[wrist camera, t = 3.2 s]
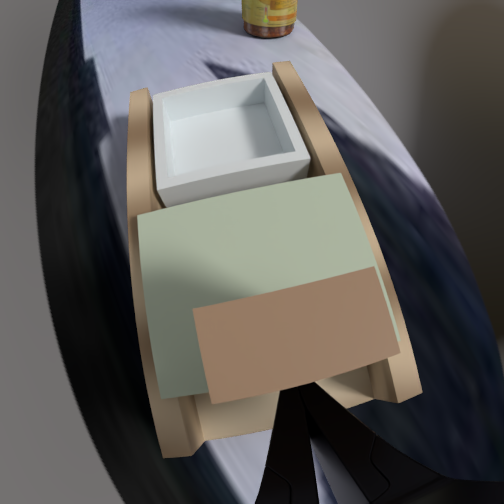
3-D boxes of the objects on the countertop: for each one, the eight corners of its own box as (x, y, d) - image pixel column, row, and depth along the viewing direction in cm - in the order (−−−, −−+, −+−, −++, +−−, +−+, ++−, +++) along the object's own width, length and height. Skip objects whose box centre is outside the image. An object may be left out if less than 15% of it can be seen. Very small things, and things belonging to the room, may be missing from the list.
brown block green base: (395, 342, 13) (502, 306, 6) (165, 398, 12) (70, 416, 5) (338, 179, 16) (374, 66, 9) (141, 220, 16) (74, 121, 9)
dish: (304, 187, 20) (310, 158, 17) (171, 216, 20) (157, 190, 17) (270, 101, 24) (270, 71, 21) (163, 123, 23) (153, 95, 20)
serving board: (400, 386, 16) (433, 387, 12) (173, 441, 15) (149, 458, 12) (295, 97, 25) (298, 60, 21) (137, 129, 24) (122, 95, 20)
